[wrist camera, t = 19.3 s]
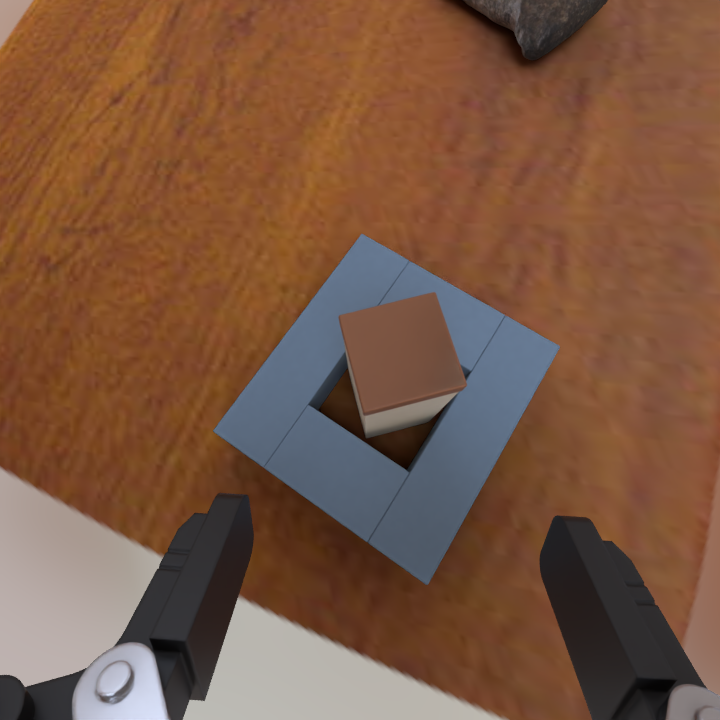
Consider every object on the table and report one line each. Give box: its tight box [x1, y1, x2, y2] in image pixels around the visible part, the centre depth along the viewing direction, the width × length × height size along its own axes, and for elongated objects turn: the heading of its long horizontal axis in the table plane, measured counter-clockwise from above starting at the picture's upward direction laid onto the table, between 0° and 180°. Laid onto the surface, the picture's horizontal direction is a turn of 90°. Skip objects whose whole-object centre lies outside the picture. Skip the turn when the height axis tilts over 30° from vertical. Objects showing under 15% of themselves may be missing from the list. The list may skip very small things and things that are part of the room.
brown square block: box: [338, 292, 467, 439], centre depth 19 cm, size 4×4×9 cm
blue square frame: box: [213, 234, 560, 585], centre depth 22 cm, size 13×12×3 cm
